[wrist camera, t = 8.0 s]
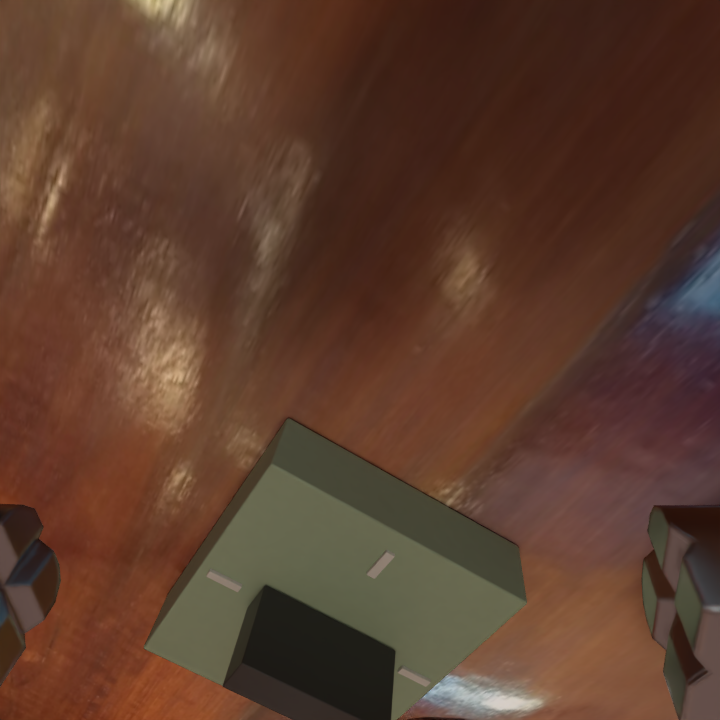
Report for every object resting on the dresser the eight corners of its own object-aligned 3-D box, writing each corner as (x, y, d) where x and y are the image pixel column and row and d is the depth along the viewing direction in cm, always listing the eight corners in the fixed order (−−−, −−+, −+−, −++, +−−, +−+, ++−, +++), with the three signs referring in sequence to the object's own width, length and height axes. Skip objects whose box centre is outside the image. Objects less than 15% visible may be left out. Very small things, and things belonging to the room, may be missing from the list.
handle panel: (288, 416, 25) (269, 466, 23) (519, 546, 27) (528, 607, 24) (167, 594, 31) (140, 652, 28) (367, 692, 33) (360, 756, 30)
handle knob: (247, 607, 26) (219, 692, 23) (265, 584, 25) (239, 669, 22) (375, 670, 27) (366, 762, 24) (396, 650, 26) (390, 741, 23)
